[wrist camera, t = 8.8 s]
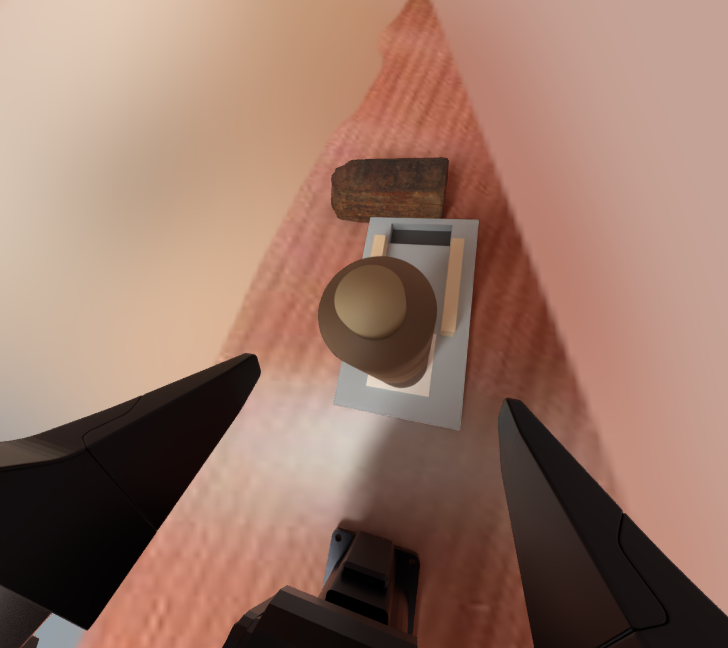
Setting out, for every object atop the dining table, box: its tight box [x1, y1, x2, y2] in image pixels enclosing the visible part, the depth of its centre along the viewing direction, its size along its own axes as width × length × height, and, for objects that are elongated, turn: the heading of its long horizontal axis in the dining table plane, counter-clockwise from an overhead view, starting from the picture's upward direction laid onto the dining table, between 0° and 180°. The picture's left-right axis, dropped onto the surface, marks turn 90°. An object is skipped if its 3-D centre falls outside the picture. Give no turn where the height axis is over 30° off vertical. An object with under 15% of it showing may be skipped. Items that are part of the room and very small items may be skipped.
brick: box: [331, 157, 449, 223], centre depth 25 cm, size 11×4×5 cm, turn 78°
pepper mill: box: [318, 256, 437, 388], centre depth 15 cm, size 4×4×14 cm
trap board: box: [333, 217, 479, 431], centre depth 23 cm, size 18×10×3 cm, turn 169°
